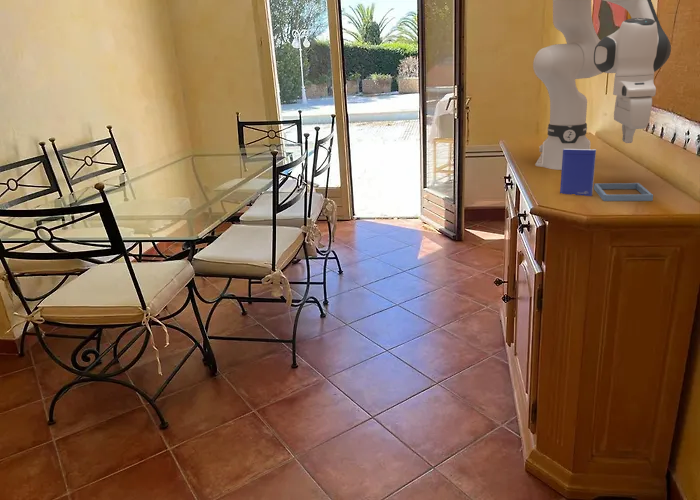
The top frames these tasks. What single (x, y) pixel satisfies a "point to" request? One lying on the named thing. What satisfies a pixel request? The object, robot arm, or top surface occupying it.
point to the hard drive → (578, 171)
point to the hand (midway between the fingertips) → (627, 142)
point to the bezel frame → (643, 196)
